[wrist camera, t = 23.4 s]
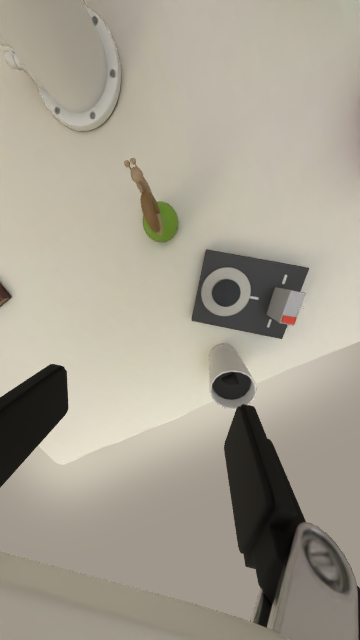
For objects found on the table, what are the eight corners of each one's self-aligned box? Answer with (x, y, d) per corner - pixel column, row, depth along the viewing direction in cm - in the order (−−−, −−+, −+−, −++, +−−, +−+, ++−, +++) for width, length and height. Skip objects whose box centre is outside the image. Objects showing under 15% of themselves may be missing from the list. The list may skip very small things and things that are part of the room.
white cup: (201, 350, 35) (201, 381, 25) (231, 336, 33) (244, 363, 24) (216, 376, 36) (222, 414, 26) (246, 363, 34) (264, 399, 25)
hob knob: (274, 287, 27) (291, 290, 22) (287, 289, 27) (307, 293, 22) (266, 314, 29) (280, 323, 24) (278, 316, 29) (294, 326, 24)
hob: (192, 317, 33) (191, 320, 30) (205, 251, 29) (206, 249, 27) (283, 335, 32) (290, 341, 29) (308, 269, 28) (319, 269, 26)
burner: (196, 310, 30) (196, 312, 28) (206, 263, 28) (207, 262, 26) (242, 319, 29) (244, 322, 28) (256, 272, 27) (259, 272, 26)
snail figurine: (172, 197, 28) (153, 144, 16) (184, 238, 29) (174, 216, 18) (142, 209, 29) (104, 169, 17) (154, 248, 30) (127, 235, 19)
